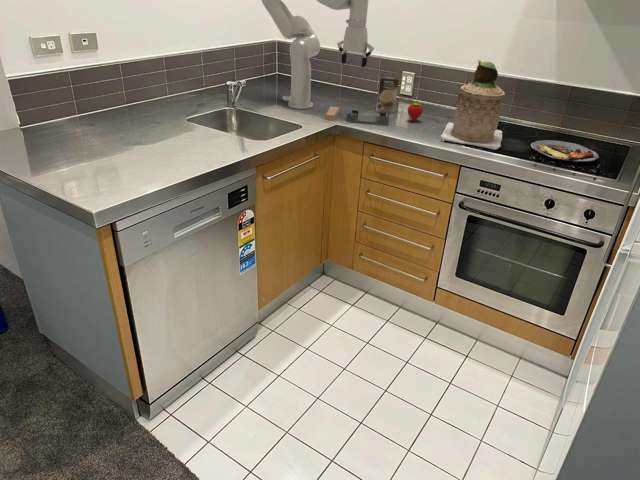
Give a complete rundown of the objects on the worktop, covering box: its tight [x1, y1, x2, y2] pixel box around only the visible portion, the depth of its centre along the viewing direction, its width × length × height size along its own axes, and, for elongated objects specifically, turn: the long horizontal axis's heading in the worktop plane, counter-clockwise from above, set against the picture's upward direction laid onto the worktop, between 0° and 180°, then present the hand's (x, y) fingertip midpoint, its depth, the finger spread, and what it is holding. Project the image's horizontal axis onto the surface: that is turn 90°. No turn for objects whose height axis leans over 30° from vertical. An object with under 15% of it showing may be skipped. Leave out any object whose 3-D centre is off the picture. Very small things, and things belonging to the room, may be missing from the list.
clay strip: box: [325, 106, 340, 122], centre depth 229 cm, size 4×14×3 cm, turn 170°
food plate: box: [530, 139, 600, 163], centre depth 196 cm, size 25×23×4 cm
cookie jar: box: [440, 59, 506, 151], centre depth 202 cm, size 25×25×32 cm
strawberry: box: [407, 99, 424, 122], centre depth 225 cm, size 6×8×10 cm
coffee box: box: [375, 75, 400, 114], centre depth 237 cm, size 9×6×16 cm
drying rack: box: [345, 109, 390, 127], centre depth 224 cm, size 19×10×4 cm, turn 80°
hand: (353, 65), depth 220 cm, fingers open, 9 cm apart
